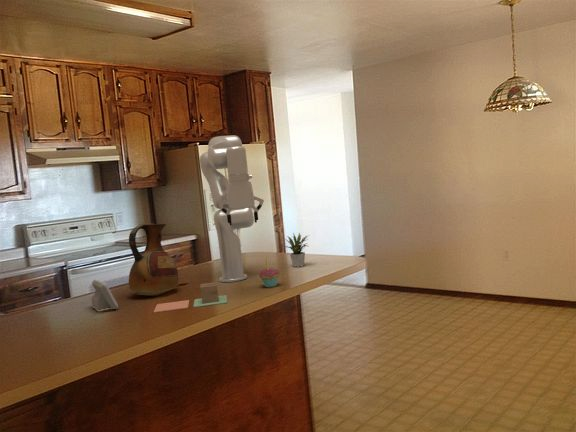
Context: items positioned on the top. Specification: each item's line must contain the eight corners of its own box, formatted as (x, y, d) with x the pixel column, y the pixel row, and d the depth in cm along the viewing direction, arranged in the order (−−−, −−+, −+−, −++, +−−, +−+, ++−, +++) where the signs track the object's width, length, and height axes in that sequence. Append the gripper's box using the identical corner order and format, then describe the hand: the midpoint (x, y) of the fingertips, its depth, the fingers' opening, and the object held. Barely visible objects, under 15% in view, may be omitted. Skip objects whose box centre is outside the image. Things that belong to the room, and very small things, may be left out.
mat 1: (157, 305, 196) (157, 304, 196) (189, 300, 197) (189, 300, 197) (153, 312, 184) (153, 312, 184) (187, 308, 185) (187, 307, 185)
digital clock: (119, 310, 193) (115, 282, 193) (93, 315, 190) (89, 286, 189) (116, 302, 209) (113, 276, 208) (92, 306, 205) (89, 279, 204)
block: (202, 300, 195) (200, 284, 194) (218, 297, 196) (216, 282, 195) (202, 303, 189) (200, 287, 188) (218, 301, 190) (217, 285, 189)
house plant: (315, 267, 239) (311, 232, 238) (285, 270, 239) (281, 235, 238) (313, 262, 253) (310, 229, 252) (285, 265, 254) (282, 232, 252)
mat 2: (194, 300, 197) (194, 299, 197) (226, 295, 199) (226, 295, 199) (193, 307, 186) (193, 306, 186) (227, 303, 187) (227, 302, 187)
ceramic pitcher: (189, 290, 217) (180, 219, 215) (147, 301, 203) (137, 226, 201) (162, 286, 231) (154, 219, 229) (121, 297, 216) (112, 226, 214)
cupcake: (278, 287, 204) (275, 257, 203) (257, 288, 206) (254, 259, 205) (282, 282, 213) (279, 253, 212) (262, 284, 214) (259, 255, 214)
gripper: (260, 176, 202) (265, 220, 204) (216, 181, 201) (220, 225, 202) (261, 177, 195) (266, 222, 197) (215, 181, 193) (220, 227, 195)
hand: (243, 223), depth 200 cm, fingers open, 9 cm apart
